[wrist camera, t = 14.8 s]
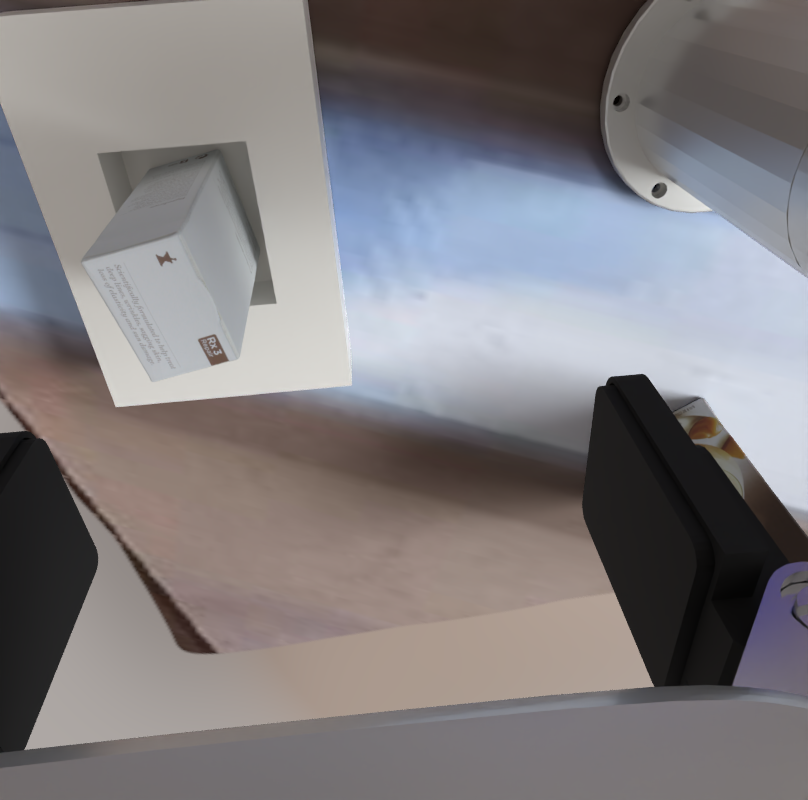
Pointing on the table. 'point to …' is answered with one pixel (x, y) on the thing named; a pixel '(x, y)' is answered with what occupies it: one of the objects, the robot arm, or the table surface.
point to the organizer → (178, 139)
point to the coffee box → (744, 478)
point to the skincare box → (179, 267)
